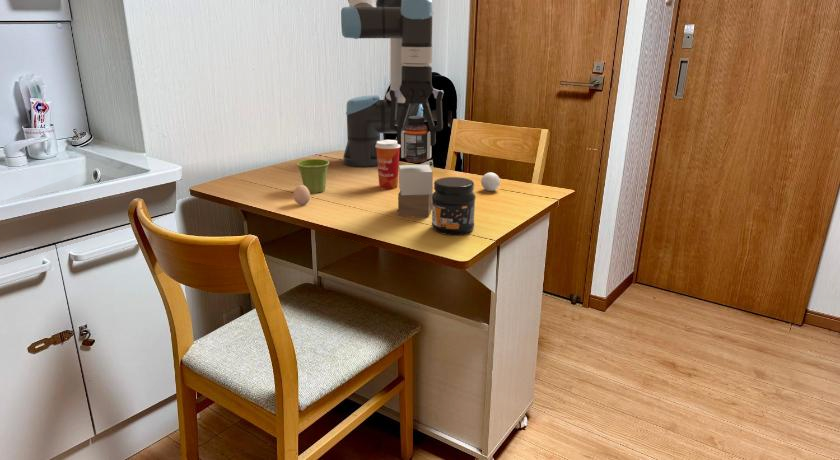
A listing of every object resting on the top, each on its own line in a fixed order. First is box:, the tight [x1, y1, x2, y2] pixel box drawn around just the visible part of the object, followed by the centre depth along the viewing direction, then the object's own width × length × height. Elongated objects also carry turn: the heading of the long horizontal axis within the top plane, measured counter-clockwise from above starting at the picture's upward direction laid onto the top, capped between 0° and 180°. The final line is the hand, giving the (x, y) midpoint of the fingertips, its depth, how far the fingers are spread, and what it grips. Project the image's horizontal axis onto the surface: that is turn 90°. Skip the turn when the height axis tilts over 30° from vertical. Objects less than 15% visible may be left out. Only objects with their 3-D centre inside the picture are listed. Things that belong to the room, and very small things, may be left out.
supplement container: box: [431, 176, 476, 236], centre depth 140 cm, size 10×10×12 cm
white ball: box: [480, 171, 501, 192], centre depth 173 cm, size 8×6×6 cm
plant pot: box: [296, 158, 330, 194], centre depth 172 cm, size 9×9×9 cm
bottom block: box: [397, 188, 434, 218], centre depth 154 cm, size 8×8×6 cm
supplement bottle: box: [404, 115, 429, 164], centre depth 148 cm, size 6×6×11 cm
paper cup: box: [375, 139, 401, 190], centre depth 175 cm, size 8×8×14 cm
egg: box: [293, 184, 311, 206], centre depth 159 cm, size 4×4×6 cm
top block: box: [398, 164, 434, 195], centre depth 152 cm, size 8×8×6 cm
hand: (416, 157), depth 150 cm, fingers closed on supplement bottle, 6 cm apart
